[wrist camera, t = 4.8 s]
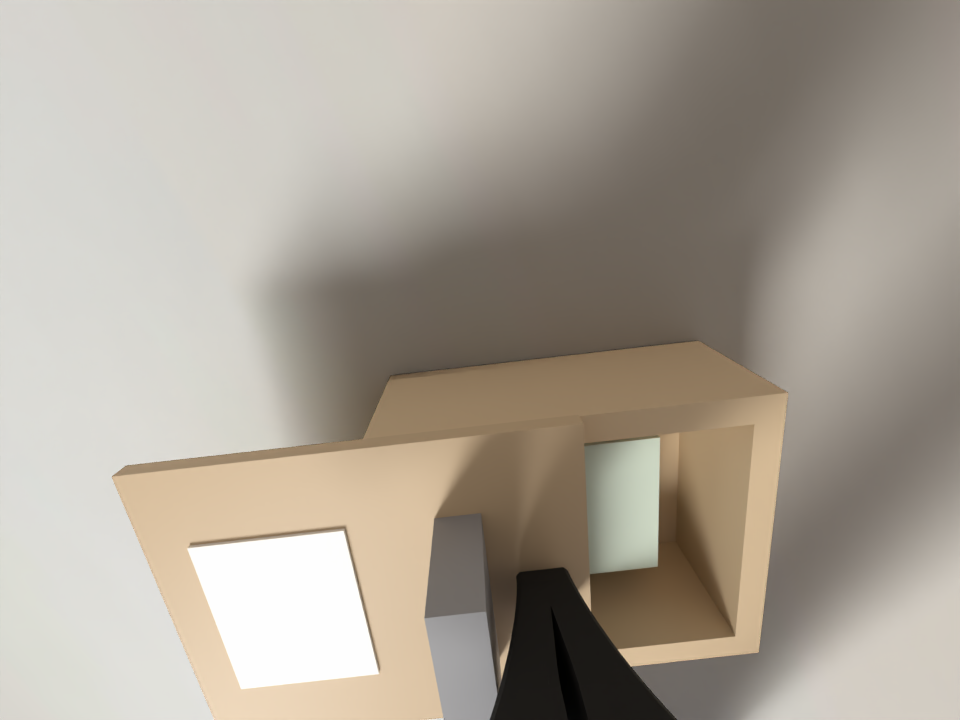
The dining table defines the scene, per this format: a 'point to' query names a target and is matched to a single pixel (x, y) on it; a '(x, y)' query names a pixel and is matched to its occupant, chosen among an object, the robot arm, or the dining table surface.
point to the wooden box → (643, 480)
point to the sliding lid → (361, 565)
